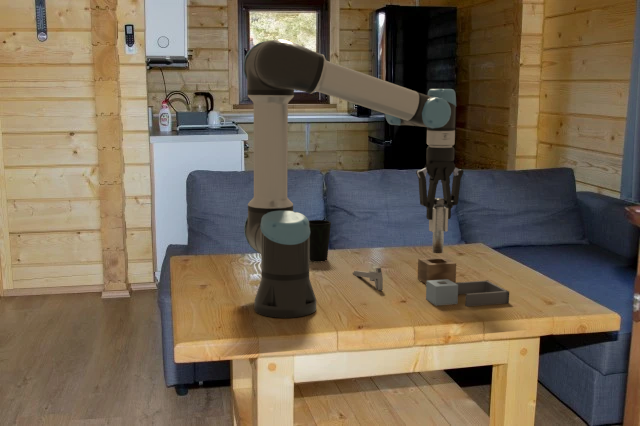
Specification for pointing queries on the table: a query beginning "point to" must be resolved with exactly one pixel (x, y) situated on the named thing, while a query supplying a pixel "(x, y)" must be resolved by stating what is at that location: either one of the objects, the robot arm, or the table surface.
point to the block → (441, 292)
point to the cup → (319, 240)
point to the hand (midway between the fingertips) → (438, 230)
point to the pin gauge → (439, 226)
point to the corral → (477, 296)
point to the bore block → (436, 269)
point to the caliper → (372, 277)
